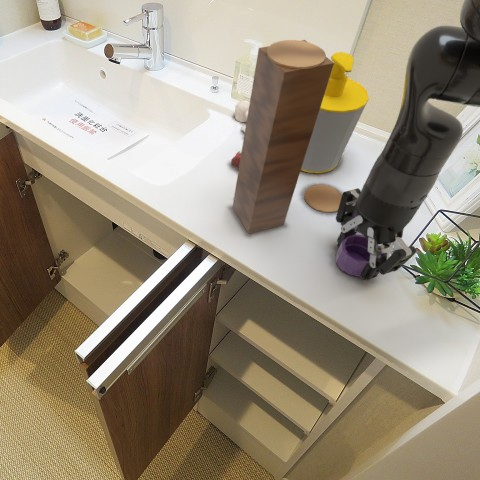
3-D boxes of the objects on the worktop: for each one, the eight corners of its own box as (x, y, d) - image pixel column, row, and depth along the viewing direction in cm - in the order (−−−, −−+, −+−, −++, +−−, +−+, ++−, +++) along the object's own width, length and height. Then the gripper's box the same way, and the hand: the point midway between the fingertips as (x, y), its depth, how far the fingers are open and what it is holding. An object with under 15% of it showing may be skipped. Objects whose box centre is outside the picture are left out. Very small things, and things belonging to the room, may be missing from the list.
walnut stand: (283, 224, 75) (334, 62, 52) (248, 234, 73) (284, 72, 51) (265, 199, 79) (305, 39, 56) (232, 207, 78) (258, 47, 55)
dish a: (379, 272, 68) (389, 257, 65) (348, 281, 66) (356, 267, 63) (357, 246, 71) (366, 230, 68) (327, 254, 70) (334, 239, 67)
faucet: (248, 130, 101) (244, 89, 96) (293, 149, 86) (292, 103, 81) (233, 135, 100) (229, 94, 95) (277, 156, 86) (274, 109, 80)
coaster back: (352, 207, 77) (352, 206, 77) (317, 216, 76) (317, 215, 76) (329, 182, 82) (330, 181, 82) (296, 190, 80) (297, 189, 80)
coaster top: (336, 63, 52) (337, 61, 52) (284, 73, 50) (284, 70, 50) (305, 38, 56) (306, 36, 56) (256, 47, 55) (256, 45, 55)
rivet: (269, 154, 88) (270, 148, 87) (262, 157, 88) (264, 151, 87) (244, 128, 94) (245, 122, 93) (238, 130, 93) (239, 124, 92)
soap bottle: (287, 177, 83) (316, 76, 67) (273, 138, 91) (295, 40, 75) (352, 174, 83) (396, 73, 67) (331, 135, 91) (366, 38, 75)
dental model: (230, 149, 82) (252, 132, 86) (227, 166, 85) (248, 148, 89) (253, 162, 80) (275, 143, 84) (249, 178, 83) (271, 160, 87)
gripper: (341, 159, 59) (310, 236, 72) (410, 229, 50) (361, 303, 63) (385, 148, 61) (347, 225, 74) (460, 215, 52) (402, 289, 65)
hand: (354, 261), depth 68 cm, fingers closed on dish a, 6 cm apart
